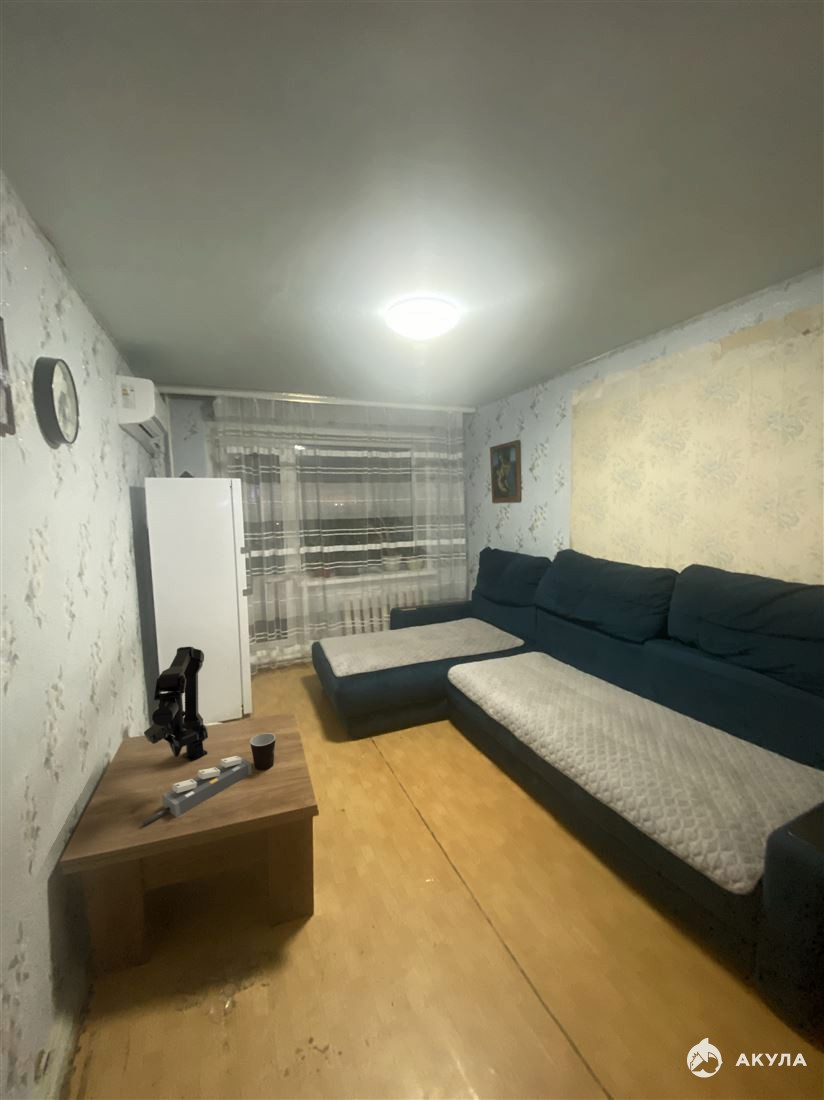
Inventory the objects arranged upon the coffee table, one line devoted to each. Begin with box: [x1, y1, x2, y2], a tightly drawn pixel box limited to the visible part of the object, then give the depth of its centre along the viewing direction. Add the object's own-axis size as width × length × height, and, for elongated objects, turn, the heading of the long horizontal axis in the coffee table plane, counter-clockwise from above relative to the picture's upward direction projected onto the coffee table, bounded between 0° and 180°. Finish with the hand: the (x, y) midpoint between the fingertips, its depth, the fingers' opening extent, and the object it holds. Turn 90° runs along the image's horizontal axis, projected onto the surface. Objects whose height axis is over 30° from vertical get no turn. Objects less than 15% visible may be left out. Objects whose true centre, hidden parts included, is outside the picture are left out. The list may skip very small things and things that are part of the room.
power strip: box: [141, 754, 252, 826], centre depth 143 cm, size 8×34×4 cm, turn 144°
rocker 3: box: [219, 755, 242, 767], centre depth 152 cm, size 3×6×2 cm, turn 144°
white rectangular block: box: [171, 778, 197, 793], centre depth 139 cm, size 3×6×2 cm, turn 144°
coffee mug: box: [249, 732, 276, 772], centre depth 160 cm, size 12×9×10 cm
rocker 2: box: [196, 766, 220, 779], centre depth 146 cm, size 3×6×2 cm, turn 144°
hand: (176, 756), depth 145 cm, fingers closed
